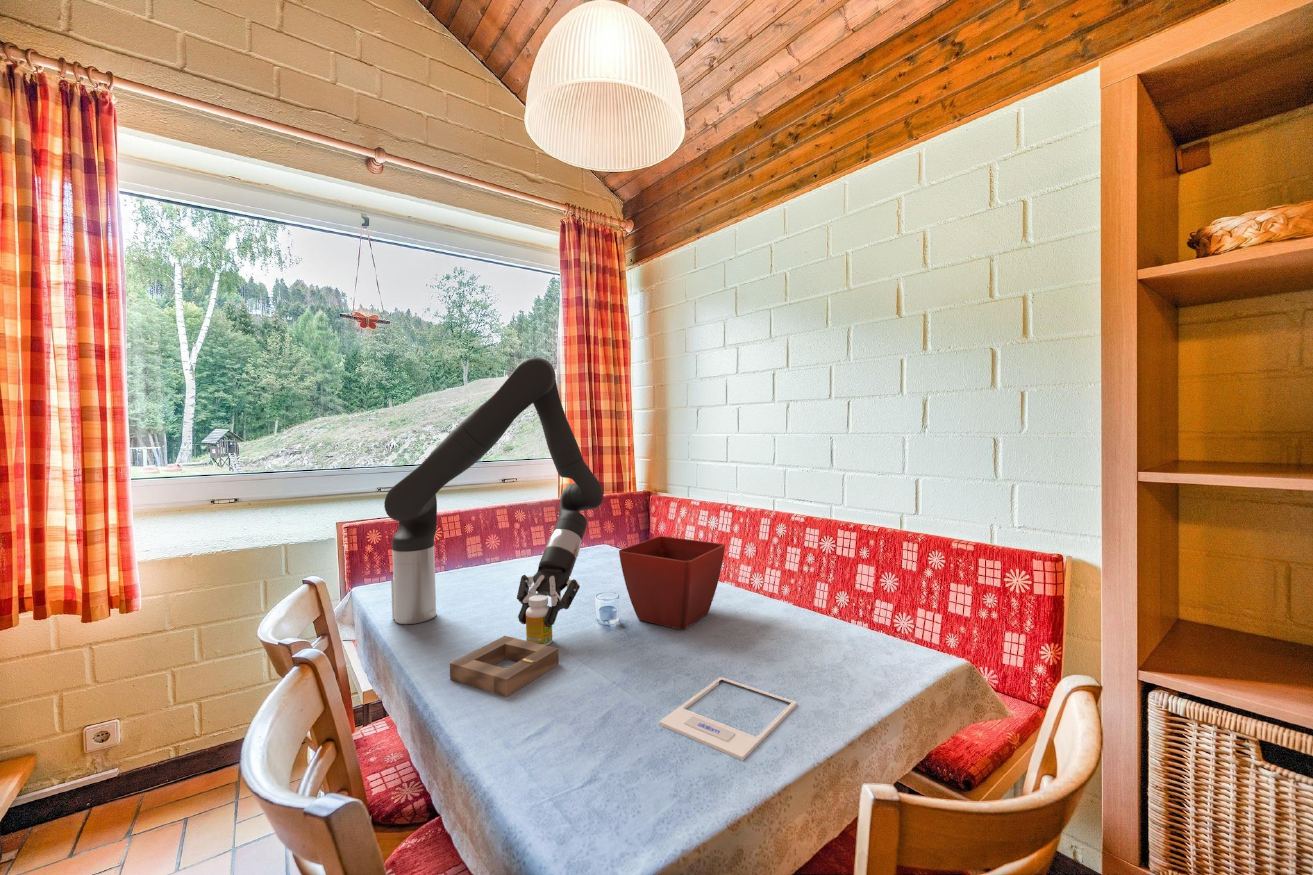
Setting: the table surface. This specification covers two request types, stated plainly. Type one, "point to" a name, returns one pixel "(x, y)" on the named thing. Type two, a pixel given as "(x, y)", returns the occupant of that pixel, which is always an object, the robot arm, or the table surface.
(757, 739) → the photo frame
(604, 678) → the table surface
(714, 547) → the plant pot
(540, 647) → the socket block
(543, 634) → the supplement bottle
